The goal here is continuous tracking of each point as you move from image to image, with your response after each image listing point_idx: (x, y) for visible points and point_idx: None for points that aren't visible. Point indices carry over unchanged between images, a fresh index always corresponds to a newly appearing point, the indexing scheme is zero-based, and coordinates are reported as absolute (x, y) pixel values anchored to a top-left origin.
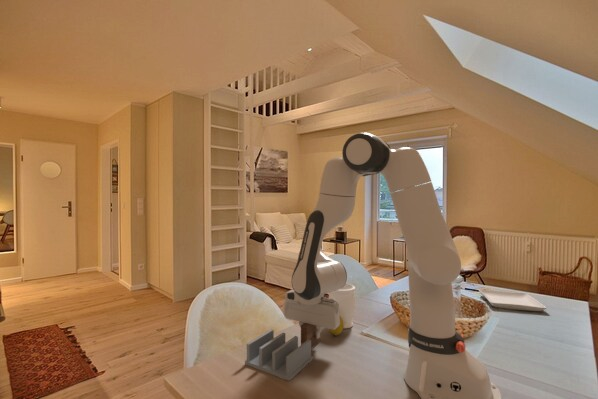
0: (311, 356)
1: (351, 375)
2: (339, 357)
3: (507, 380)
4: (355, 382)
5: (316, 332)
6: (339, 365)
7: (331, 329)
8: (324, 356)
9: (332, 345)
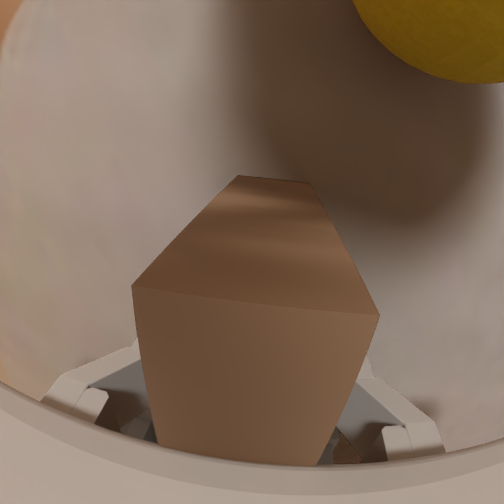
0: (332, 443)
1: (495, 421)
2: (477, 350)
3: None
4: (496, 437)
5: (341, 431)
6: (467, 402)
7: (428, 70)
8: (397, 381)
9: (433, 225)
